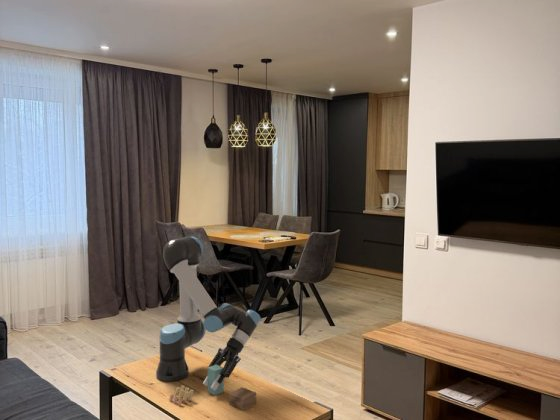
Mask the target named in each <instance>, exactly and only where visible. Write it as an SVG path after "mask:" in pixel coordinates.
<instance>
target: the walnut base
mask: <svg viewBox="0 0 560 420" xmlns="http://www.w3.org/2000/svg"><path fill="white" fill-rule="evenodd" d="M256 404H257V392H256V391H253V390H251V389H247V388H245V387H243V386H241V387H240V388H237V389H236V390H234V391H232V392H230V393H228V406H231V407H234V408H236V409H238V410H241V411H245V410H248V409H249V408H250V407H252V406H254V405H256Z"/></svg>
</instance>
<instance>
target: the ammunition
mask: <svg viewBox="0 0 560 420" xmlns="http://www.w3.org/2000/svg"><path fill="white" fill-rule="evenodd" d="M193 394H194V390H193V389H190V388H189V387H186V385H181V386H180V387H179V386H177V387H176V389H175V392H174V394H170V396H169V401H168V402H172V401H173V404H176V403H177V406H178V407H179V406H181V404H182V403H183V400H184V401H187V402H188V403H189V402H190V401H191V399H192V397H193Z"/></svg>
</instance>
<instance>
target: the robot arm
mask: <svg viewBox="0 0 560 420" xmlns="http://www.w3.org/2000/svg"><path fill="white" fill-rule="evenodd" d="M162 252H163V253H162V256H163V257H162V258H163V261H164V264H165V266H166V268H167V269H168V271H169V272H170V273H171V274H174V275H175V277H176V278H177V280H178V281H179V282H178V284H179V311H180V314H179V316H178V317H177V323H171V324H166V325H165V326H163V327H162V328H160V331H159V338H158V339H159V361H158V364H157V369H156V370H155V373H156V374H155V377H156V379H157V380H159V381H162V382H177V381H181V380H184V379H186V378H187V377H189V366H188V364H187V361H186V357H185V356H186V355H185V354H186V353H185V352H186V351H185V350H186V349H188V348H189V347H191V346H194V345H196V344H197V343H199V342H200V341H202V339H203V338H204V337H205V335H206V331H207V332H209V333H211V334H212V333H216V332H220V331H221V330H222V329H224V328H225V327H227V326H229V325H233V326H235V327H236V328H235V330H234V331H233V333H232V334H231V337H229V339H228V340H227V342H226V346H225V347H224V348H223V349H222V348H221V347H219V348H218V350H217V353H216V354H215V355H214V357H213V359H212V360H211V362H210V363H209V365H208V367H211V366H214V365H219V366H221V367H223V370H222V372H221V373H220V374H221V375H220V374H219V375H218V377H217V378H216V380H215V381H214V383H213V384H212V386H211V388H212V389H213V390H214V391H215V390H216V389H217V387H218V386H219V384H221V382H222V381H223V379H225V378H227V379H228V378H230V377H231V375H232V373H233V371H234V369H235V368H236V367H237V365H238V363H239V362H240V361H241V359H242V358H241V357H240V356H239V354H240V353H241V352H242V351H243V349H244V348H245V345H246V344H247V343H248V341H249V340H250V338H251V336H252V334H253V333H254V331H255V330H256V329H257V327H258V325H259V323H260V321H261V316H260V314H259V313H258V312H256V311H254V310H252V309H248V310H247V311H243V310H241V309H239V308H237V307H235V306H233V304H230V303H227V302H224V303H222V304H221V305H220V307H219V308H218V306H217V305H216V304H215V302H214V301H213V299H212V297H211V296H210V295H209V293H208V292H207V289H205V287H204V286H203V285H202V283H201V281H200V280H199V278H198V277H197V275H198V274H197V267H198V266H199V265H200V258H201V257H202V256H203V254H204V245H203V243H202V242H201V240H200V239H199V238H197V237H196V236H184V237H180V238H175V239H174V238H173V239H171V240H169V241H168V242H167V243H166V244H165V245H164V247H163V251H162ZM199 313H200V314H201V316H202V317H201V316H200V315H199ZM202 318H204V321H203V320H202ZM223 363H224V365H223ZM222 365H223V366H222ZM202 384H203V385H204V386H206V387H208V373H207V374H206V377H205V379H204V380H203V382H202Z"/></svg>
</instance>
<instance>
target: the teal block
mask: <svg viewBox="0 0 560 420" xmlns="http://www.w3.org/2000/svg"><path fill="white" fill-rule="evenodd" d="M223 367H224V366H222V365H221V366H219V365H214V366H211V367H209V366H207V374H208V386H207V392H208V393H209V394H212V395H213V396H217V395H219V394H221V393H223V392H224V390H225V389H224V388H225V387H224V385H225V384H224V383H225V382H224V381H225V380H224V379H225V378H224V379H223V381H222V382H221V384H219V386H218V387H217V389H216V390H215V391H214V390H213V389H212V388H211V386H212V384H213V383H214V381H215V380H216V378H217V377H218V375H219V374H220V373H221V372H222V370H223ZM220 375H221V374H220Z"/></svg>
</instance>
